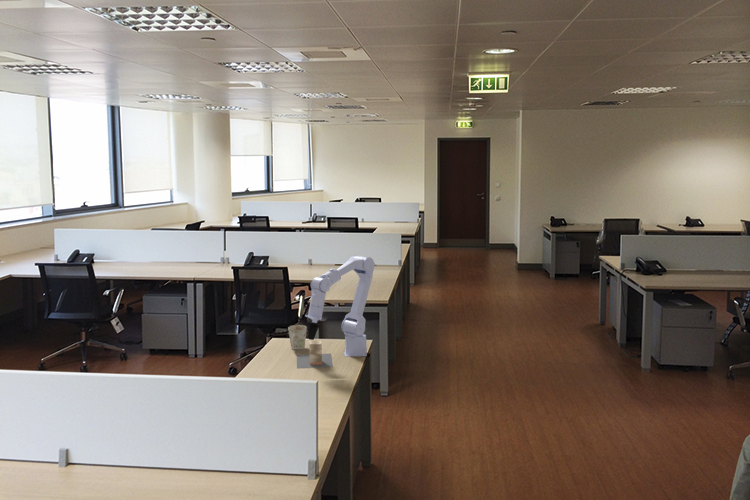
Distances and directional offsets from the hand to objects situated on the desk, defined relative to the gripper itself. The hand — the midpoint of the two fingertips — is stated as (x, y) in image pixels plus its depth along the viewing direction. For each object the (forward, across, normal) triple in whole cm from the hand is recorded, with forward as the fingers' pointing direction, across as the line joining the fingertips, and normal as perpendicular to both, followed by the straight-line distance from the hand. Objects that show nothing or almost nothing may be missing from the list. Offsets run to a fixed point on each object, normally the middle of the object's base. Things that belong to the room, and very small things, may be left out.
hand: (310, 338), depth 266 cm
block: (+11, -7, +4) cm, 13 cm away
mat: (+11, -10, +4) cm, 15 cm away
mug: (+9, -28, -4) cm, 30 cm away
